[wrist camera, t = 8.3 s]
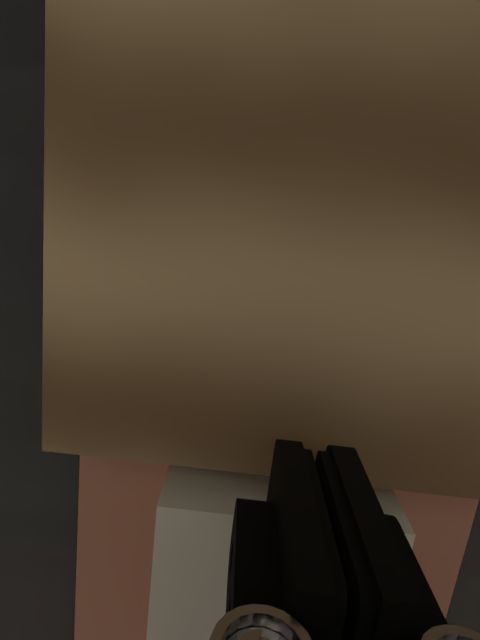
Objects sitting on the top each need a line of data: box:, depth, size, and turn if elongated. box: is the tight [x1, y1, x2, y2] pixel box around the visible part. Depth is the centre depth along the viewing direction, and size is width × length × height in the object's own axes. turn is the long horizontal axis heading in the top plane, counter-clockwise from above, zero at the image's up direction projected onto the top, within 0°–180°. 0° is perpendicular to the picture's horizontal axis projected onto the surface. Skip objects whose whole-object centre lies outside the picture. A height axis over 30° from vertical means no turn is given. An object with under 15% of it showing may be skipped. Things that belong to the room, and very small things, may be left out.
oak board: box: [42, 0, 480, 499], centre depth 10 cm, size 16×12×3 cm
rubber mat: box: [74, 455, 479, 640], centre depth 15 cm, size 12×12×1 cm
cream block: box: [146, 465, 416, 640], centre depth 13 cm, size 7×6×3 cm
